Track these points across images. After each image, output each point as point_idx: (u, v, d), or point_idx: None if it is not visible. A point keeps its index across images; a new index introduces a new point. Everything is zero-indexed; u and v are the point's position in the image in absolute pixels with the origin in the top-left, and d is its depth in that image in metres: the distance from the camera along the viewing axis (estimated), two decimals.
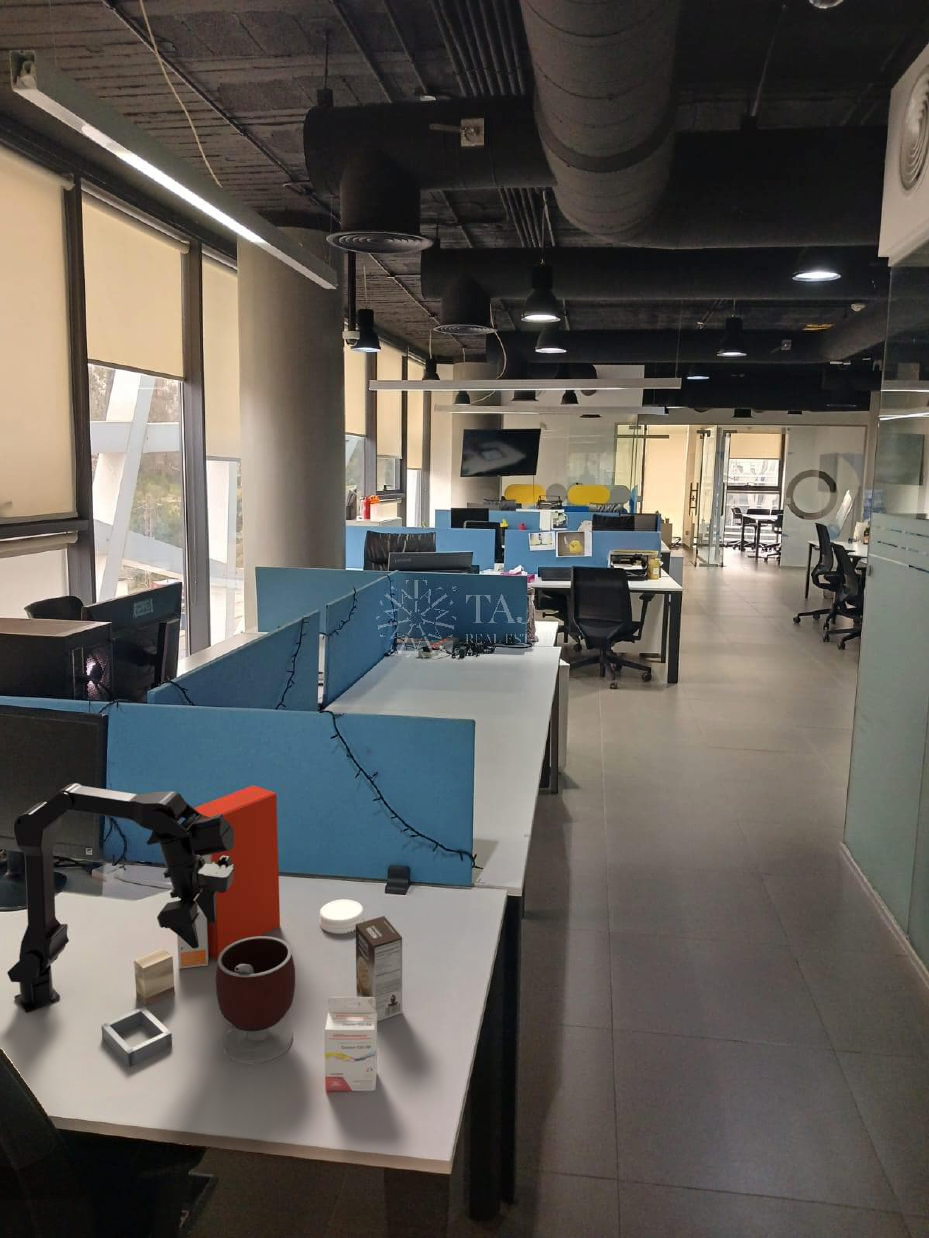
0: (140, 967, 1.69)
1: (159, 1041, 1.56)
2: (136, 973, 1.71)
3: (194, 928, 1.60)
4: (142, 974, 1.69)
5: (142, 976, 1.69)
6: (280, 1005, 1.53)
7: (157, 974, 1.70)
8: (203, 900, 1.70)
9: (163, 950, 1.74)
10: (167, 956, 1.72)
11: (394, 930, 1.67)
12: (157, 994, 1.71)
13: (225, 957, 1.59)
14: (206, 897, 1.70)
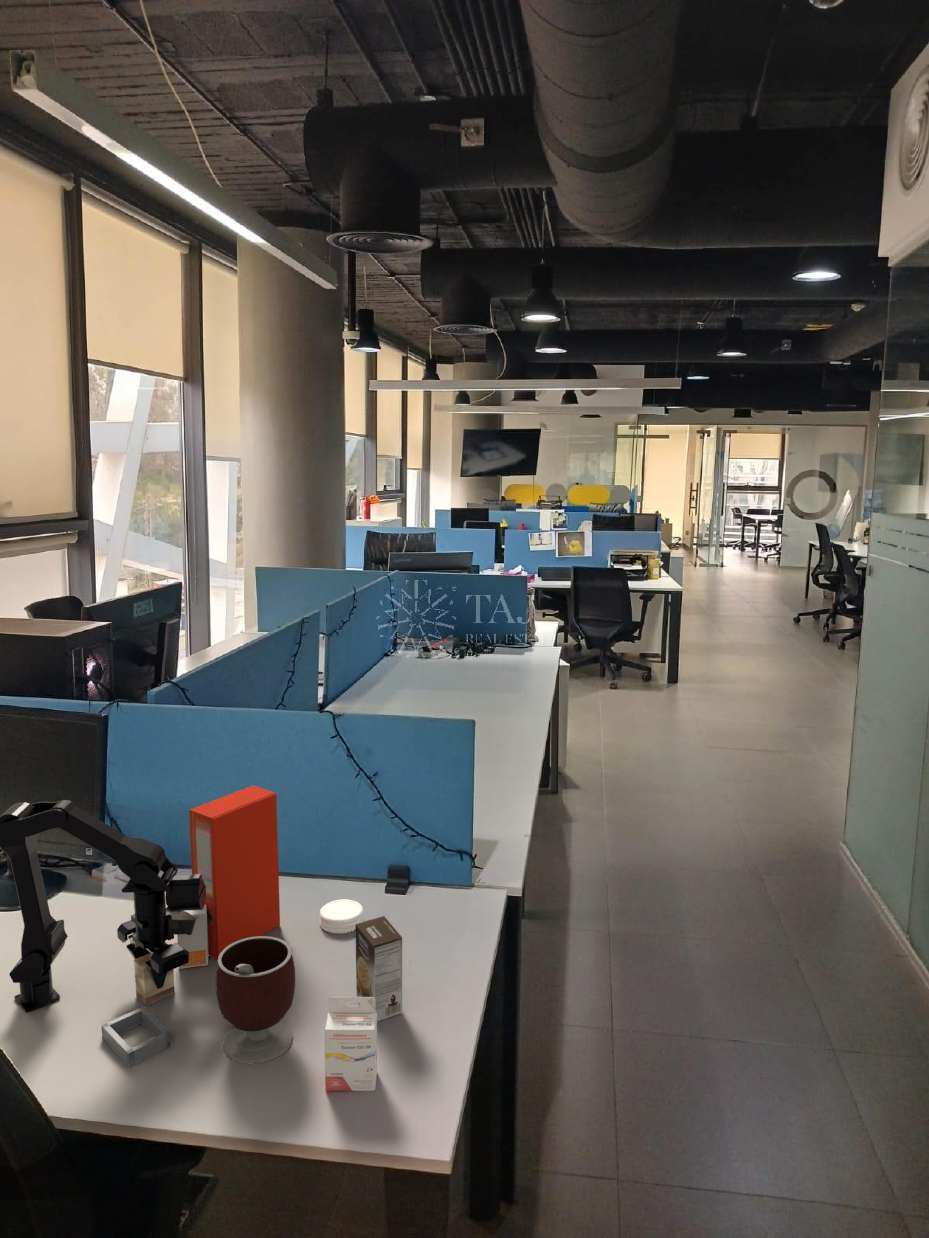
0: (140, 967, 1.69)
1: (159, 1041, 1.56)
2: (136, 973, 1.71)
3: None
4: (142, 973, 1.69)
5: (142, 976, 1.69)
6: (280, 1005, 1.53)
7: None
8: None
9: None
10: None
11: (394, 930, 1.67)
12: (157, 994, 1.71)
13: (225, 957, 1.59)
14: None
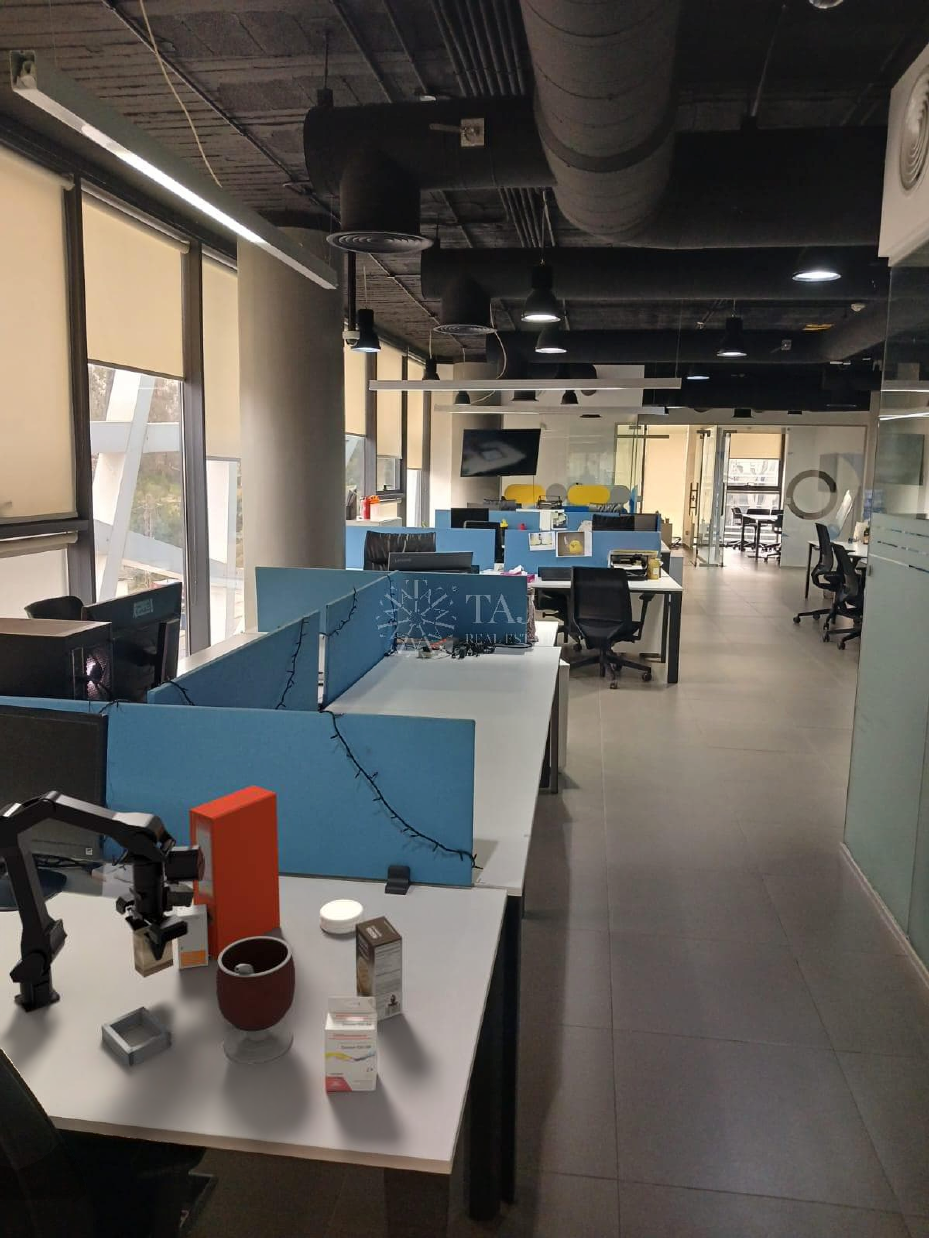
0: (139, 939, 1.68)
1: (159, 1041, 1.56)
2: (134, 945, 1.70)
3: None
4: (141, 945, 1.67)
5: (141, 947, 1.68)
6: (280, 1005, 1.53)
7: None
8: None
9: None
10: None
11: (394, 930, 1.67)
12: (156, 966, 1.70)
13: (225, 957, 1.59)
14: None
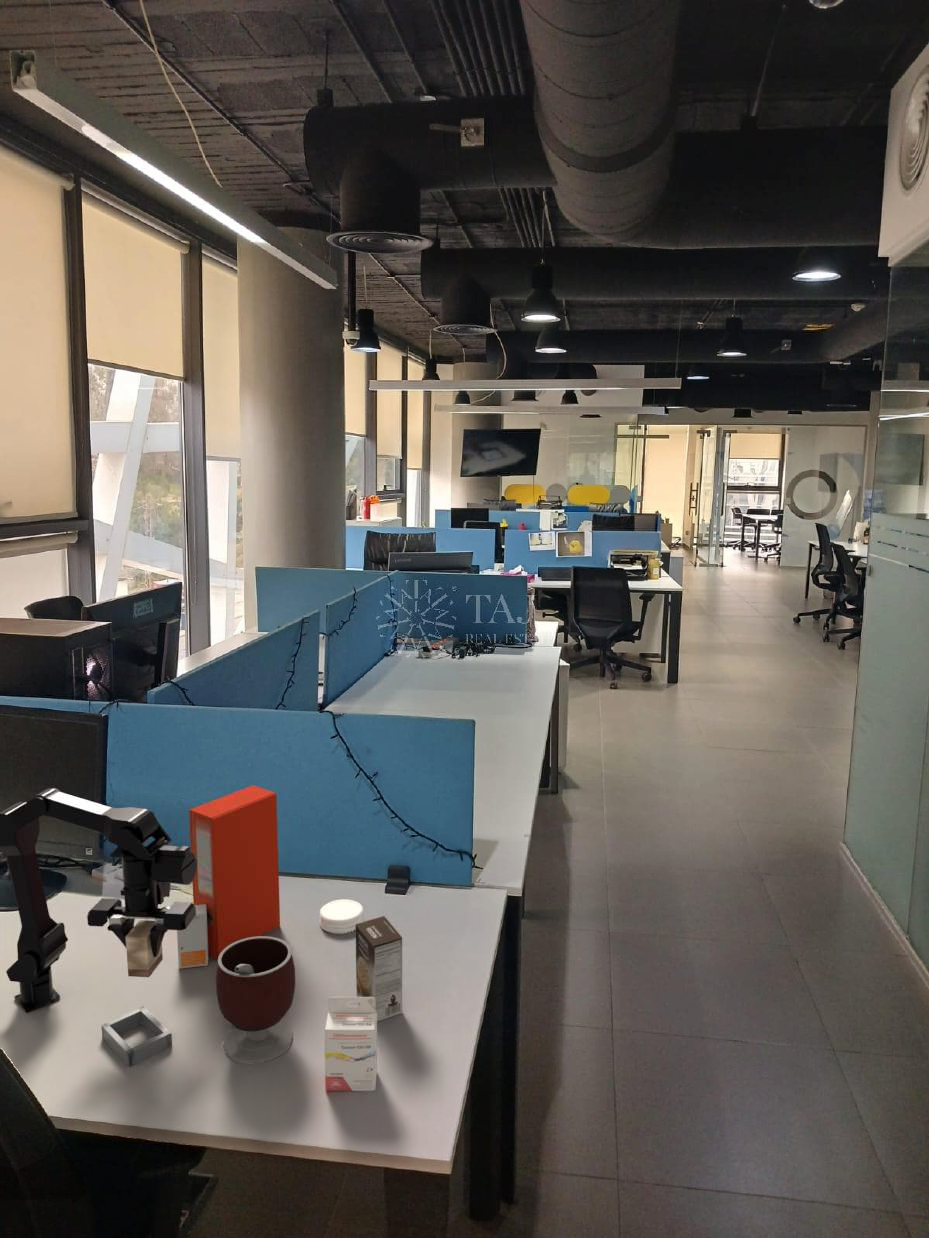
0: (140, 939, 1.61)
1: (159, 1041, 1.56)
2: (129, 950, 1.62)
3: None
4: (144, 945, 1.61)
5: (144, 947, 1.61)
6: (280, 1005, 1.53)
7: None
8: None
9: (143, 921, 1.67)
10: None
11: (394, 930, 1.67)
12: (154, 963, 1.64)
13: (225, 957, 1.59)
14: (130, 929, 1.64)
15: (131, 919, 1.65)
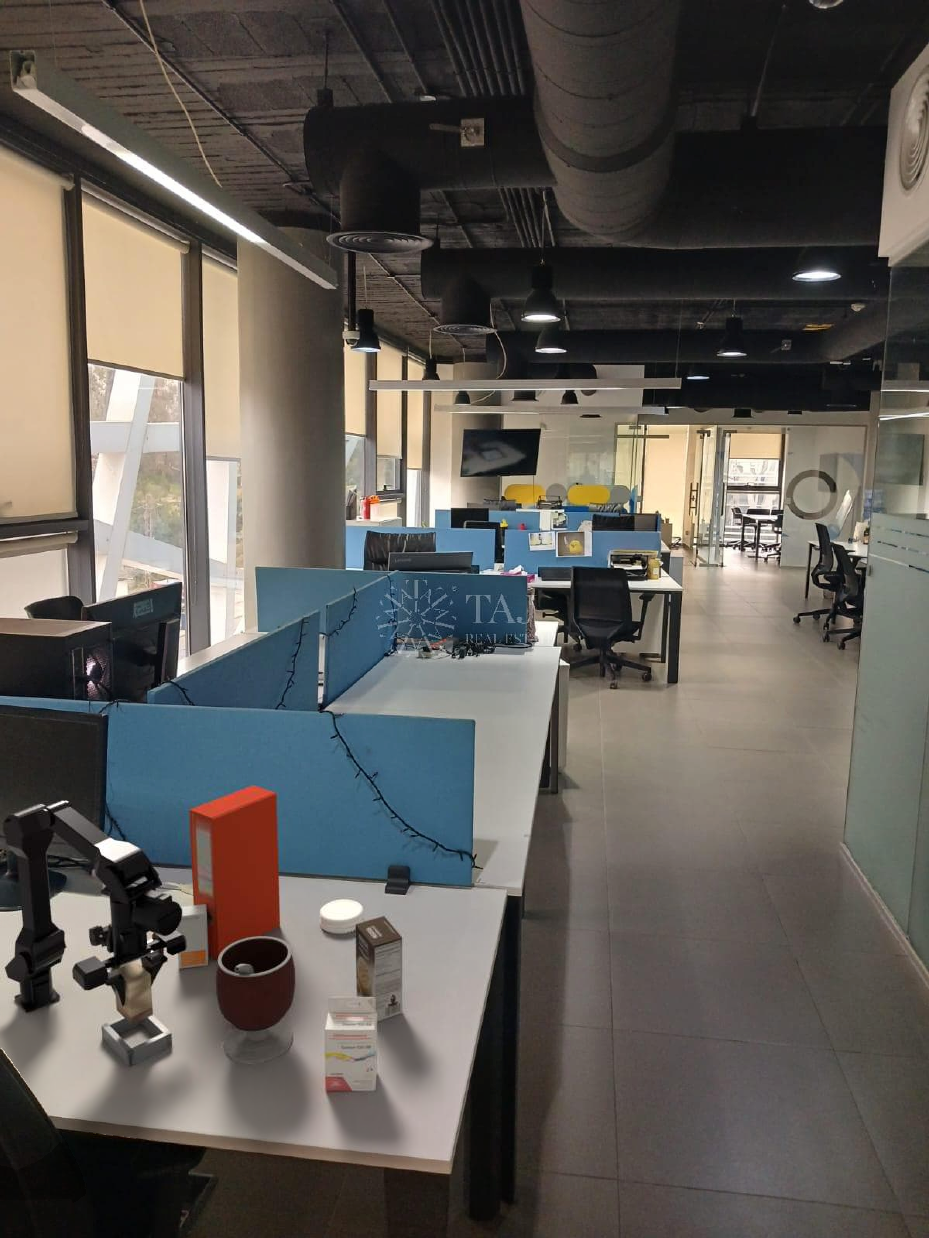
0: (144, 979, 1.55)
1: (159, 1041, 1.56)
2: (132, 996, 1.54)
3: None
4: (147, 983, 1.56)
5: (148, 985, 1.56)
6: (280, 1005, 1.53)
7: None
8: None
9: (119, 968, 1.58)
10: (134, 963, 1.59)
11: (394, 930, 1.67)
12: None
13: (225, 957, 1.59)
14: None
15: None
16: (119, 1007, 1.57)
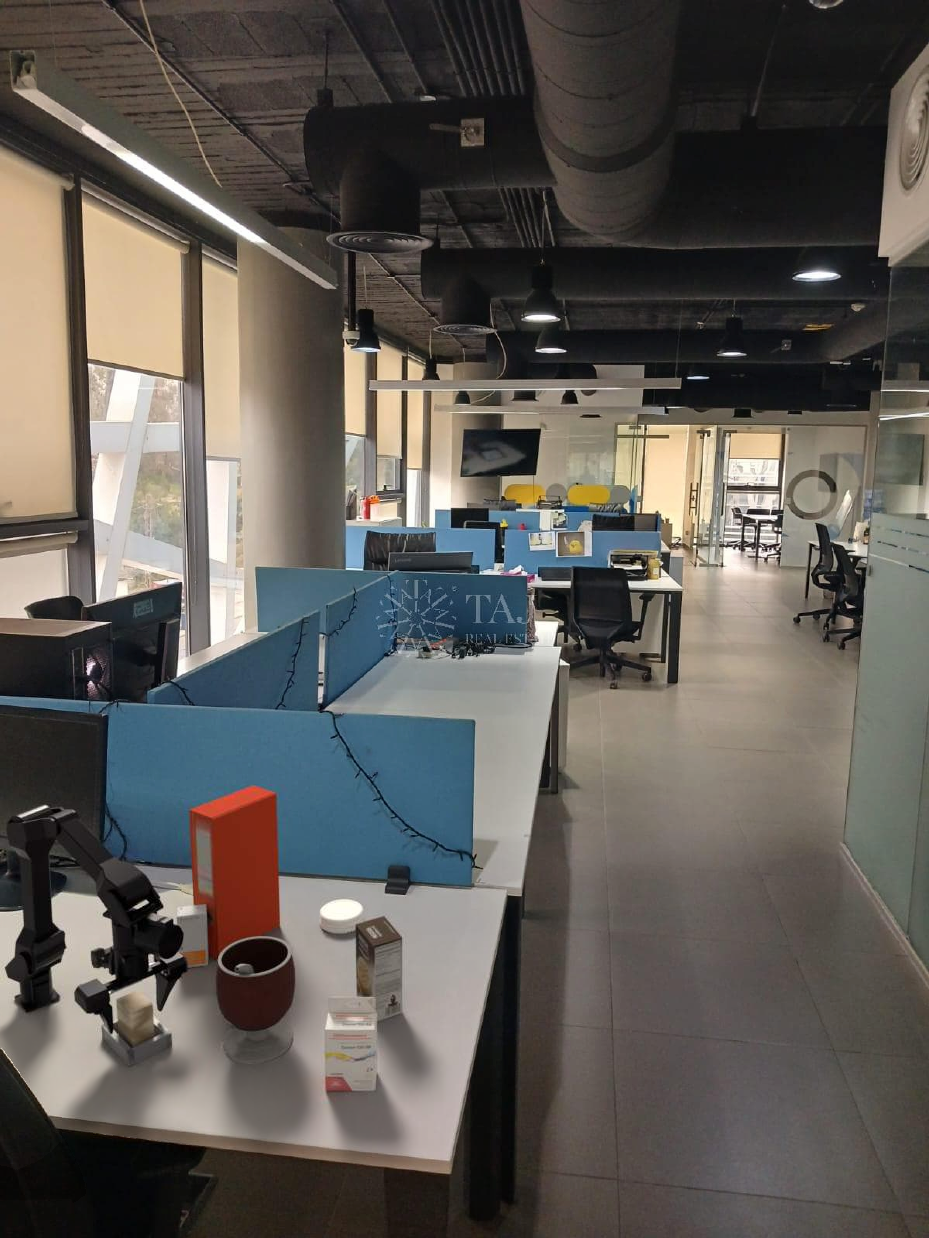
0: (146, 1009, 1.56)
1: (159, 1041, 1.56)
2: (135, 1026, 1.55)
3: None
4: (150, 1012, 1.57)
5: (150, 1014, 1.57)
6: (280, 1005, 1.53)
7: None
8: None
9: (121, 997, 1.59)
10: (136, 992, 1.60)
11: (394, 930, 1.67)
12: None
13: (225, 957, 1.59)
14: None
15: None
16: (121, 1036, 1.58)
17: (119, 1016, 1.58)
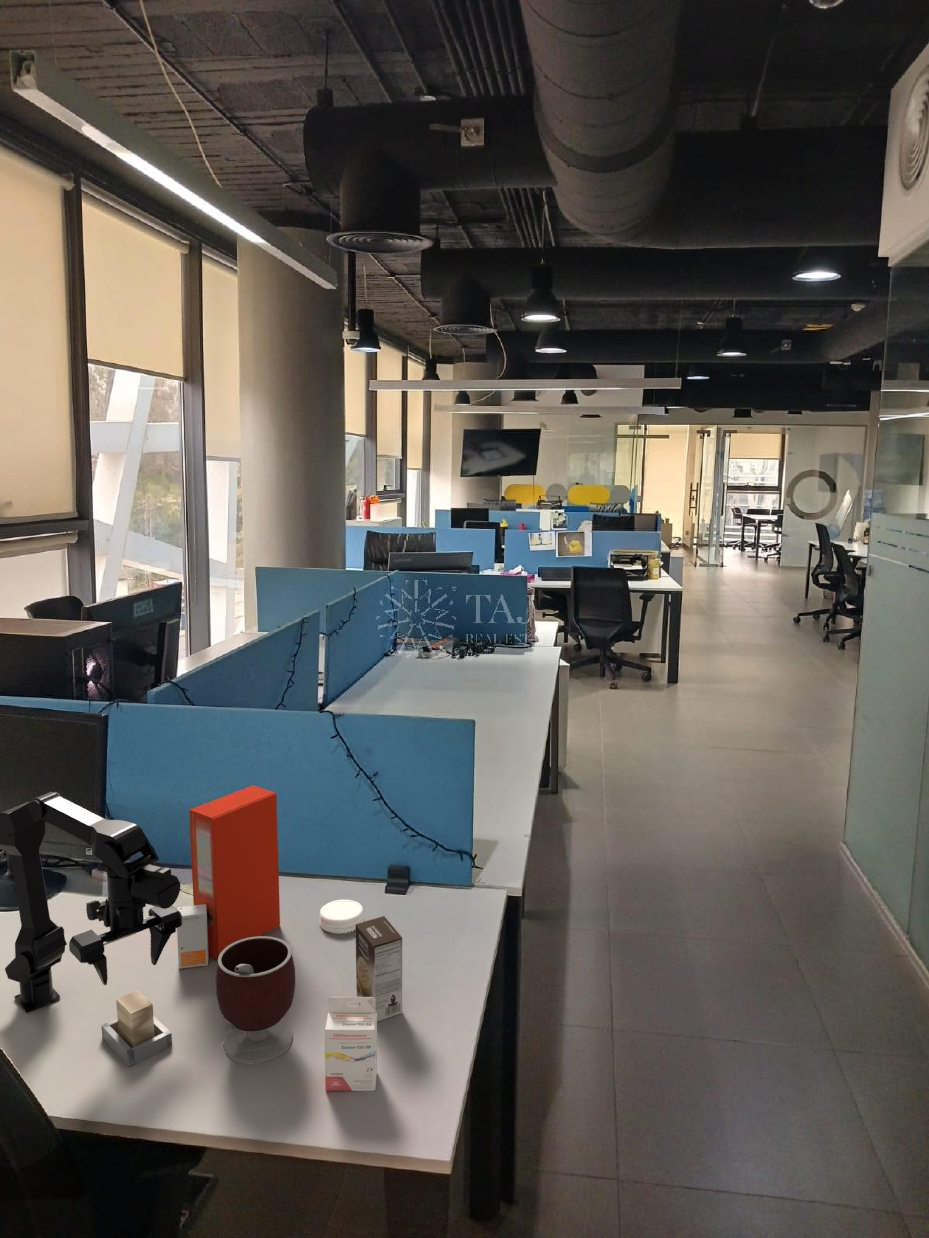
0: (146, 1009, 1.56)
1: (159, 1041, 1.56)
2: (135, 1026, 1.55)
3: None
4: (150, 1012, 1.57)
5: (150, 1014, 1.57)
6: (280, 1005, 1.53)
7: None
8: None
9: (121, 997, 1.59)
10: (136, 992, 1.60)
11: (394, 930, 1.67)
12: None
13: (225, 957, 1.59)
14: None
15: None
16: (121, 1036, 1.58)
17: (119, 1016, 1.58)
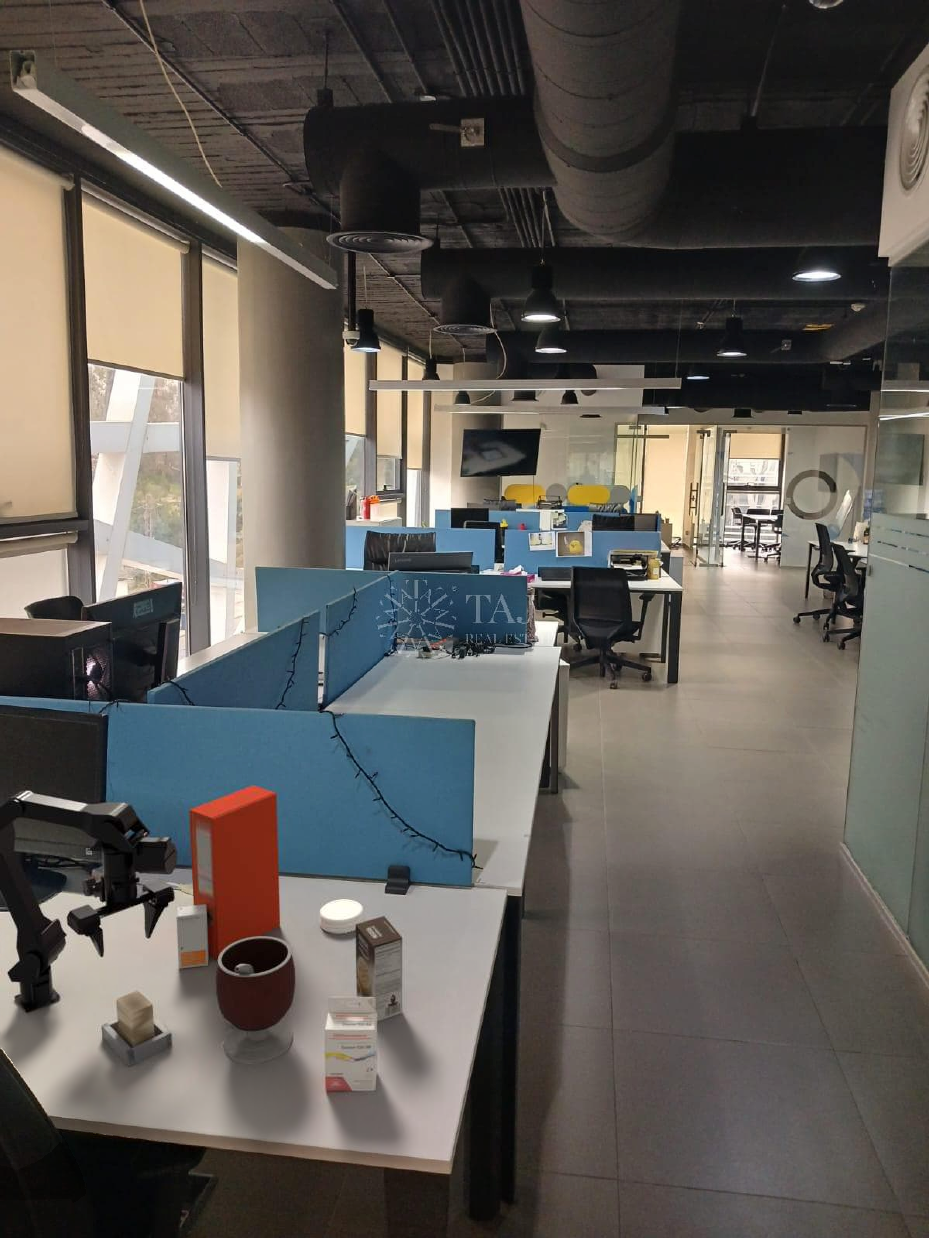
0: (146, 1009, 1.56)
1: (159, 1041, 1.56)
2: (135, 1026, 1.55)
3: None
4: (150, 1013, 1.57)
5: (150, 1014, 1.57)
6: (280, 1005, 1.53)
7: None
8: None
9: (121, 997, 1.59)
10: (136, 992, 1.60)
11: (394, 930, 1.67)
12: None
13: (225, 957, 1.59)
14: None
15: None
16: (121, 1036, 1.58)
17: (119, 1016, 1.58)
